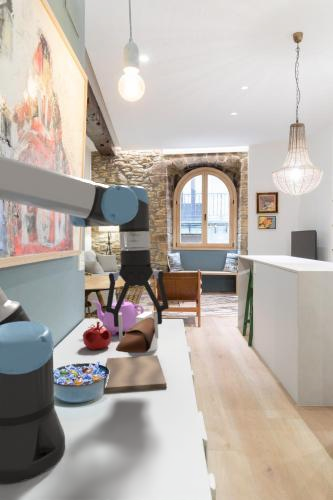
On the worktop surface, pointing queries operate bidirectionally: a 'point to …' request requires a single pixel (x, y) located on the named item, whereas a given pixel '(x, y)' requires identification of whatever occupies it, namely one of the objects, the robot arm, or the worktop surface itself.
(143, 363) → the walnut board
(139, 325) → the sunglasses case
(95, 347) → the pomegranate
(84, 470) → the worktop surface
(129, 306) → the teapot
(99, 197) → the robot arm
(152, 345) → the base with upright slab
